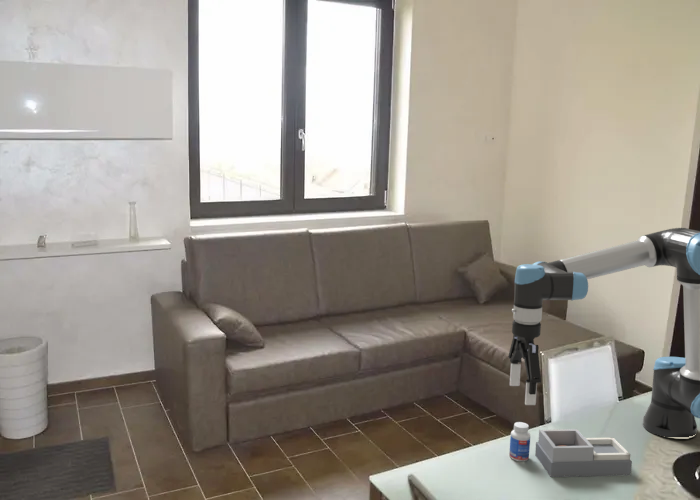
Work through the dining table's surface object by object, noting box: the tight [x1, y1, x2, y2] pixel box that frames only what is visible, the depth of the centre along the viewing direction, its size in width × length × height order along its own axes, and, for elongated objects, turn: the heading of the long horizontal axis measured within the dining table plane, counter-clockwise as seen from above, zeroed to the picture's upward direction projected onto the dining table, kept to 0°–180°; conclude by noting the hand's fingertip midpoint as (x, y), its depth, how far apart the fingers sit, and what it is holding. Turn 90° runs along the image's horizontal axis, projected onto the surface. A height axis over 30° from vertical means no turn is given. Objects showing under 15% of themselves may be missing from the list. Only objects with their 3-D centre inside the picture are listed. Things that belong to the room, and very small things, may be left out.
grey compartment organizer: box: [534, 428, 633, 478], centre depth 175 cm, size 22×12×8 cm, turn 93°
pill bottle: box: [508, 421, 531, 462], centre depth 179 cm, size 6×5×10 cm
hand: (522, 394), depth 177 cm, fingers open, 13 cm apart
